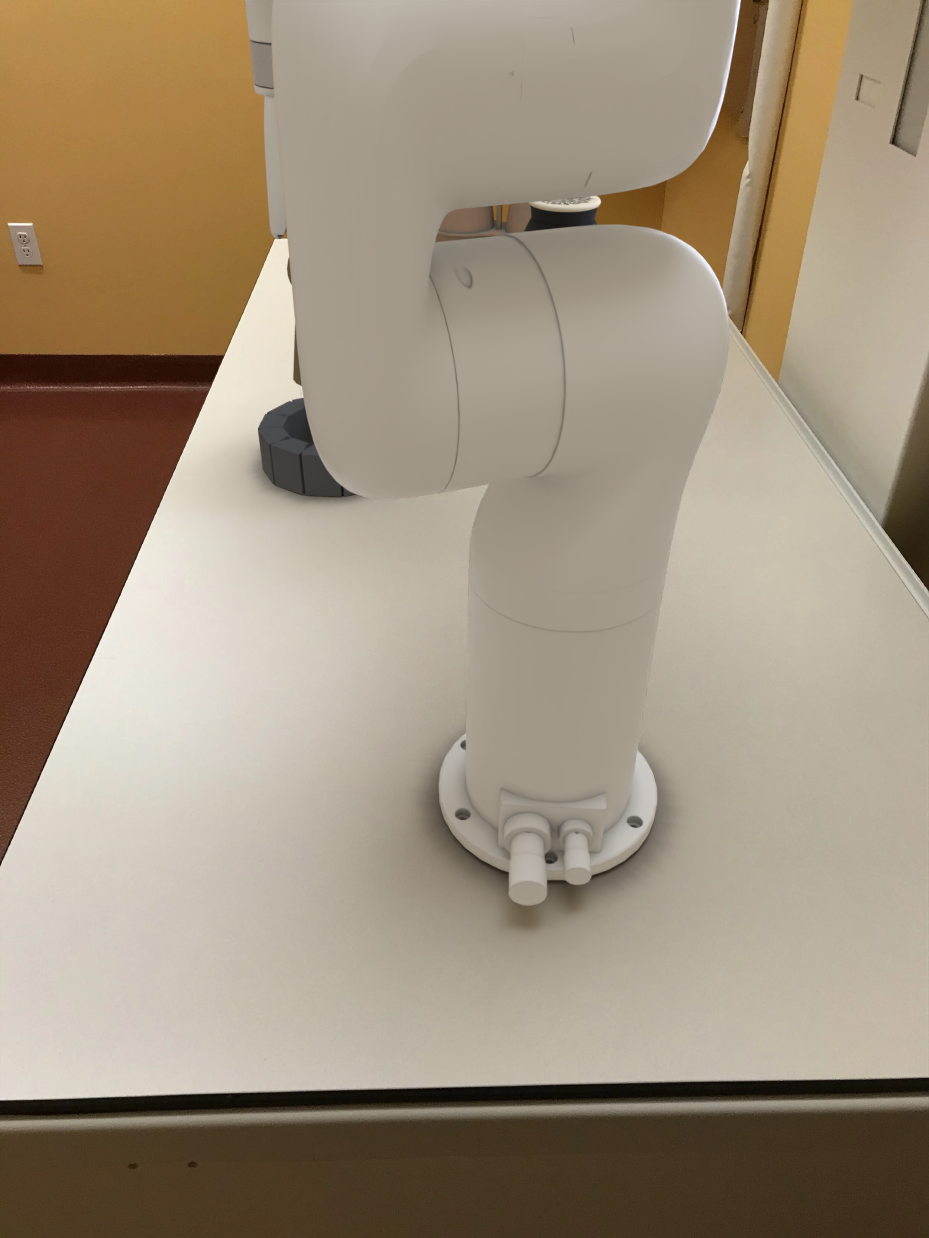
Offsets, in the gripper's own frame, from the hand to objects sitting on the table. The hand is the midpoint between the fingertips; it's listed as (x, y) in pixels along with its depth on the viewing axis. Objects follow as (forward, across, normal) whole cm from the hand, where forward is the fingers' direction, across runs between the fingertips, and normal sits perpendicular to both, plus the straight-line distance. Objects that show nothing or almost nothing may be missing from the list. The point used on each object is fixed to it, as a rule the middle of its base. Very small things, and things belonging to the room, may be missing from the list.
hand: (322, 311), depth 81 cm
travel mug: (+14, -25, +21) cm, 36 cm away
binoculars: (+15, -59, +14) cm, 62 cm away
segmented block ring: (+14, 0, 0) cm, 14 cm away
